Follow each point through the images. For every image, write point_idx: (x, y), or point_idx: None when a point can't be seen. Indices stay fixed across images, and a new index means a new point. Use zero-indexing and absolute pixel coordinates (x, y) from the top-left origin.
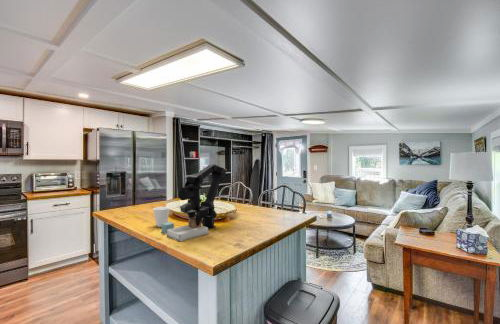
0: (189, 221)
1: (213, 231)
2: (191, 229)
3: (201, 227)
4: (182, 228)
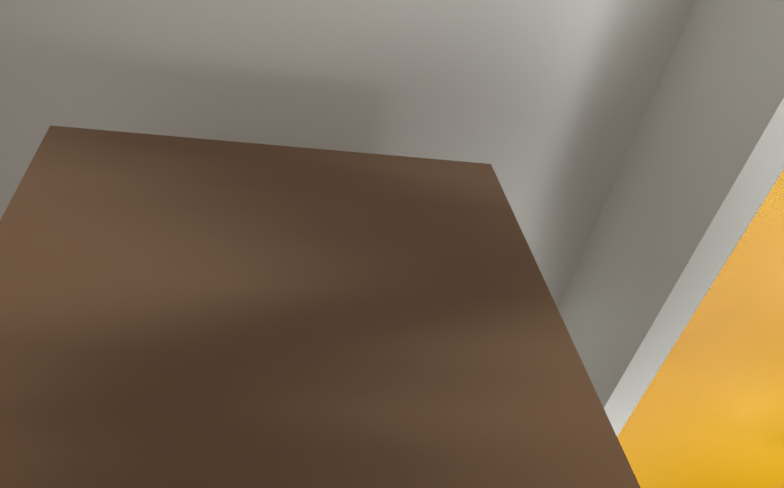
0: (473, 375)
1: None
2: None
3: None
4: (754, 27)
